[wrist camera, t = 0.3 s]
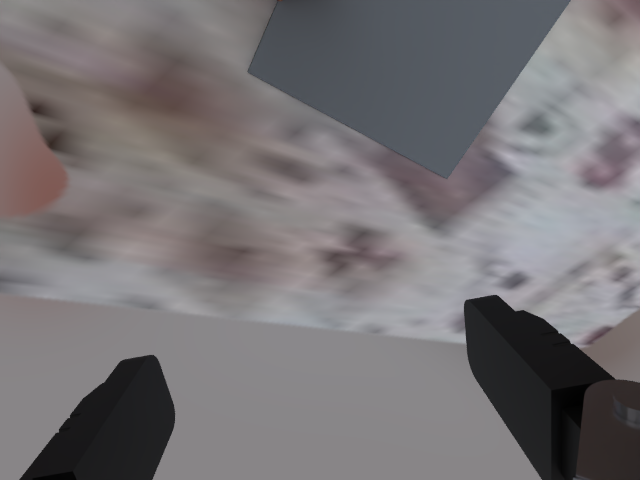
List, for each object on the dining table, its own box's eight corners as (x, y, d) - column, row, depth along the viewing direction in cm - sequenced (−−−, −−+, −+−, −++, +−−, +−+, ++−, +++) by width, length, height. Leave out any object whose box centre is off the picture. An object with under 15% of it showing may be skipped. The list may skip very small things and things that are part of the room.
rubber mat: (247, 71, 33) (247, 72, 33) (390, -263, 25) (393, -268, 25) (444, 176, 42) (447, 179, 41) (599, -49, 33) (604, -50, 33)
